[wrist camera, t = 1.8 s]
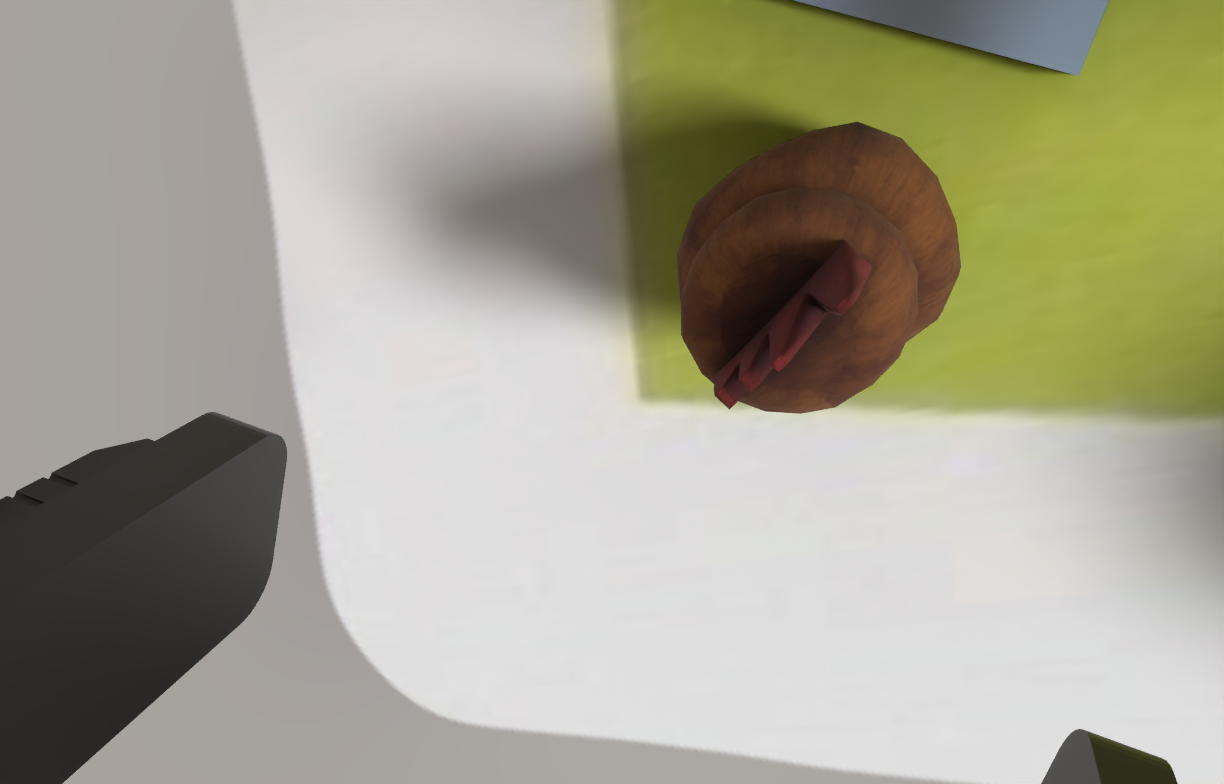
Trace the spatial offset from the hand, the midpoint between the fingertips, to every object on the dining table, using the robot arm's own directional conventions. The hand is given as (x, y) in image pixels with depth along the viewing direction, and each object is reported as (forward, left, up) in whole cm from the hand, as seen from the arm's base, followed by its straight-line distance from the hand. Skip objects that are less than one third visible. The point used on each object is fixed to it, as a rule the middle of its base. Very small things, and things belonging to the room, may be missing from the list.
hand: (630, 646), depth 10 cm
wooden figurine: (0, 0, -23) cm, 23 cm away
